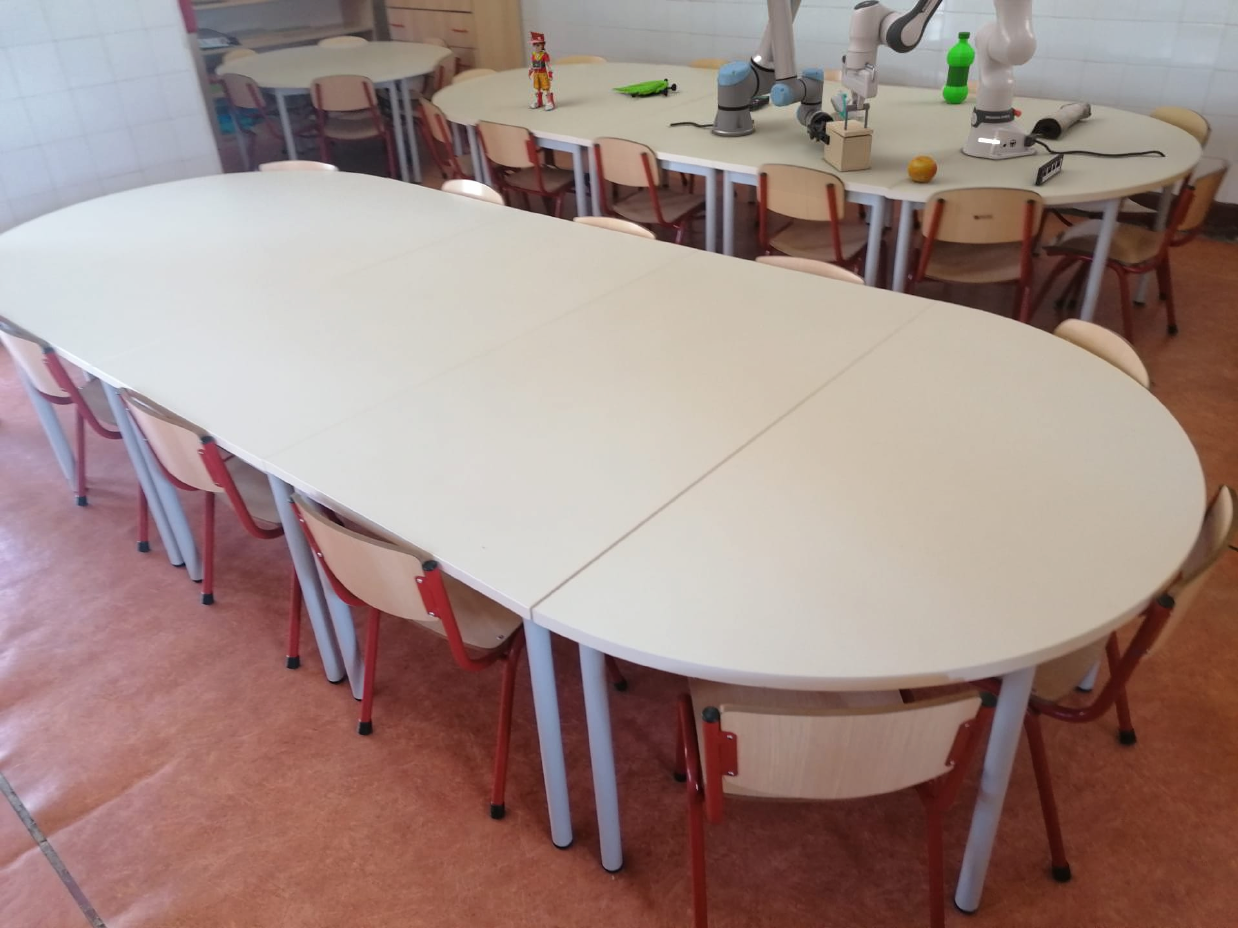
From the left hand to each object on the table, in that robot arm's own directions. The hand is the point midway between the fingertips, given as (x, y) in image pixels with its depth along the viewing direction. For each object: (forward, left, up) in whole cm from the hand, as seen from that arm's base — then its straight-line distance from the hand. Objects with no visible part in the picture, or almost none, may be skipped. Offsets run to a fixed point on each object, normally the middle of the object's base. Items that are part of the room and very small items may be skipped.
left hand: (843, 139), depth 296 cm
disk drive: (-59, +58, -7) cm, 83 cm away
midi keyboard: (+64, +4, -7) cm, 64 cm away
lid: (+3, -3, +4) cm, 5 cm away
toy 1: (-142, +29, -7) cm, 145 cm away
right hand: (+5, -6, +12) cm, 14 cm away
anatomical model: (-18, +54, -7) cm, 57 cm away
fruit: (+29, -12, -7) cm, 33 cm away
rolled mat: (+58, +62, -7) cm, 86 cm away
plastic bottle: (+15, +89, -7) cm, 90 cm away
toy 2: (-115, +66, -7) cm, 133 cm away
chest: (+2, -3, -7) cm, 8 cm away
